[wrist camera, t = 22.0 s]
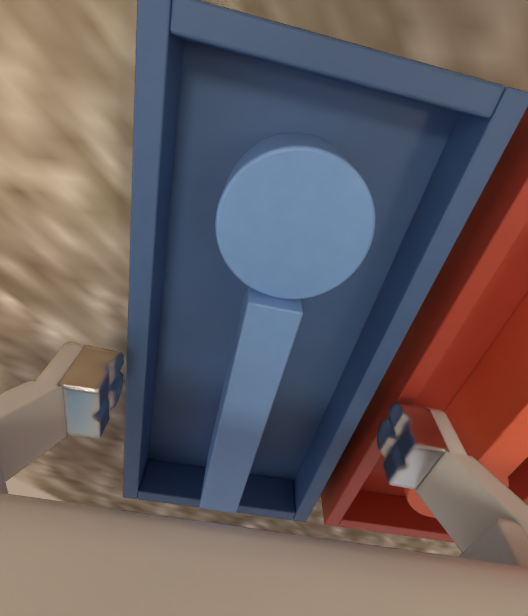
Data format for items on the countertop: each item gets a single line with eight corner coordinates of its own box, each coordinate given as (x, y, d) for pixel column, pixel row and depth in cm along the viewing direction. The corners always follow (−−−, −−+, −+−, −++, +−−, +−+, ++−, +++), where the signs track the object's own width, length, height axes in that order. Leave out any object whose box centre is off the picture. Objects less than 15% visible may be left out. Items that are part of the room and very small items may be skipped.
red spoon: (572, 161, 9) (657, 186, 7) (695, 193, 10) (808, 225, 8) (379, 466, 16) (394, 523, 14) (455, 478, 16) (482, 535, 14)
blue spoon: (265, 461, 16) (265, 518, 14) (182, 448, 16) (169, 504, 14) (379, 151, 9) (409, 173, 7) (237, 115, 9) (227, 128, 7)
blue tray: (487, 90, 9) (535, 93, 7) (302, 481, 17) (306, 522, 16) (163, 0, 8) (137, -18, 6) (136, 456, 17) (122, 497, 15)
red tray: (783, 171, 10) (884, 191, 8) (469, 506, 18) (488, 547, 17) (517, 98, 9) (571, 104, 7) (319, 483, 17) (324, 525, 16)
